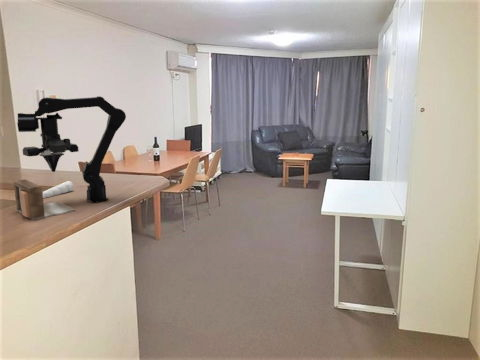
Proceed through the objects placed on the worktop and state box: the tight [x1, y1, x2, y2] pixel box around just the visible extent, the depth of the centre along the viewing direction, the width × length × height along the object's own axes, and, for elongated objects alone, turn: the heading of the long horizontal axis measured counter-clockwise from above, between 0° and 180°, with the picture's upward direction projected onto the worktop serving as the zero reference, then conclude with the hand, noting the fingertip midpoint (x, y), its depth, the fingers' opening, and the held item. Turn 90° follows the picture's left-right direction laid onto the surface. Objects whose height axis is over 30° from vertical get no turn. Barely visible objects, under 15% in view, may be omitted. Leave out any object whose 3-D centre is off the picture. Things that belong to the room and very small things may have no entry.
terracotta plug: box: [20, 191, 45, 218], centre depth 135 cm, size 6×4×8 cm, turn 138°
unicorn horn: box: [42, 180, 75, 199], centre depth 162 cm, size 5×24×5 cm, turn 151°
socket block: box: [13, 179, 76, 221], centre depth 142 cm, size 15×15×11 cm
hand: (53, 171), depth 149 cm, fingers closed
